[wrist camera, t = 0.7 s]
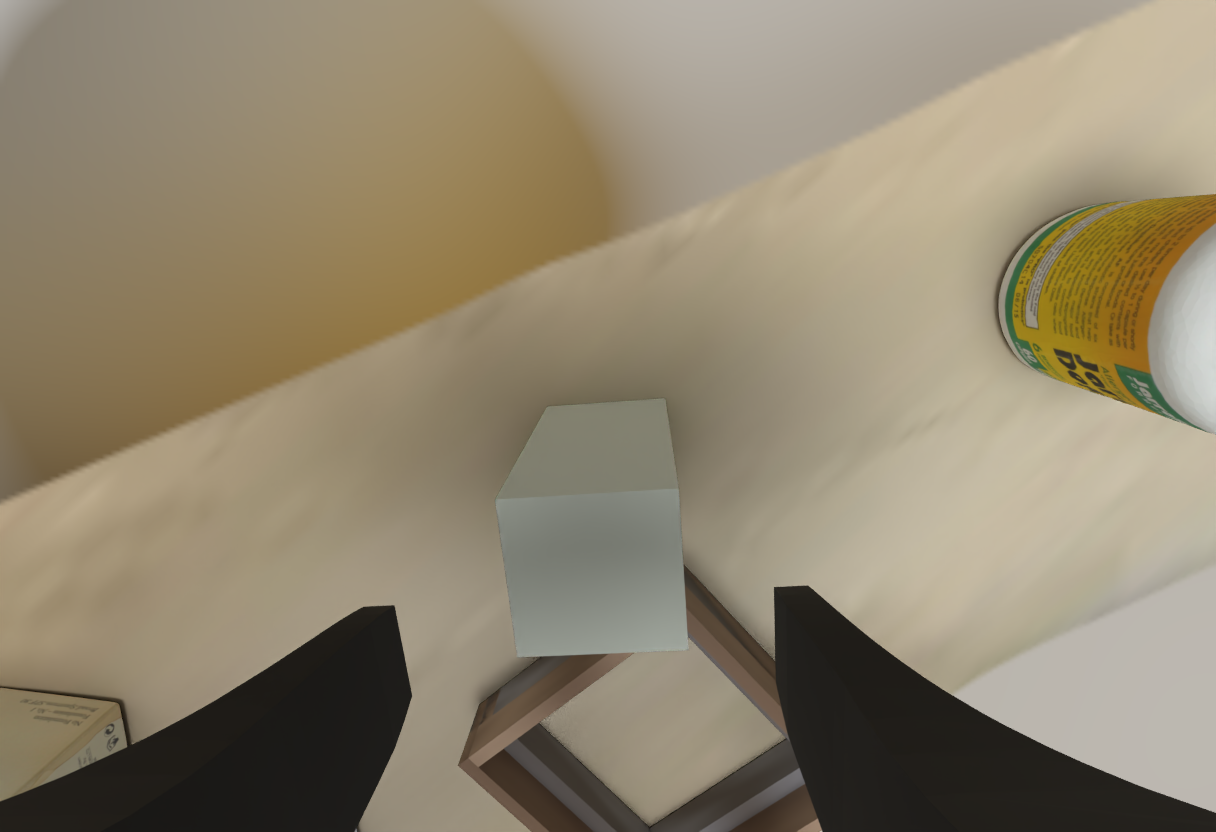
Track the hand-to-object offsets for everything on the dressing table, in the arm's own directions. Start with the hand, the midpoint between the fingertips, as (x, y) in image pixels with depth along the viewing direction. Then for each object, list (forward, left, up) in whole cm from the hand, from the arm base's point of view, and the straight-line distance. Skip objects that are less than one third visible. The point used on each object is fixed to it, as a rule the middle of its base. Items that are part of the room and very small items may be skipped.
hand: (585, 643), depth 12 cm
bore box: (+1, -11, -10) cm, 15 cm away
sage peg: (0, 0, -10) cm, 10 cm away
